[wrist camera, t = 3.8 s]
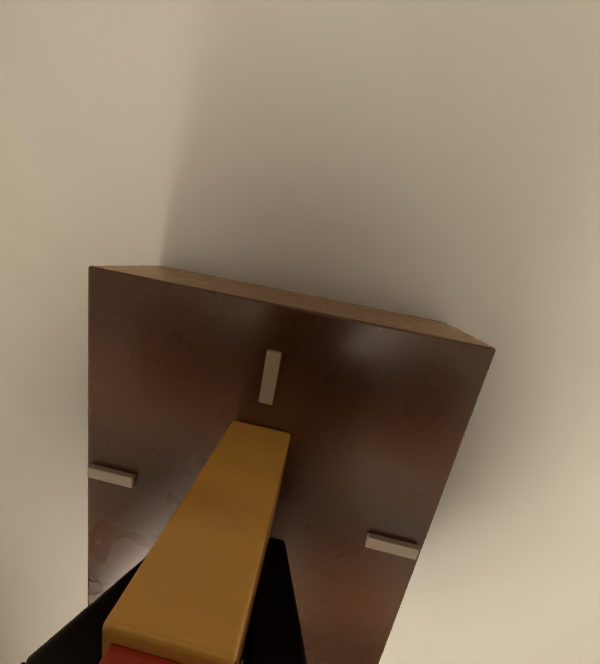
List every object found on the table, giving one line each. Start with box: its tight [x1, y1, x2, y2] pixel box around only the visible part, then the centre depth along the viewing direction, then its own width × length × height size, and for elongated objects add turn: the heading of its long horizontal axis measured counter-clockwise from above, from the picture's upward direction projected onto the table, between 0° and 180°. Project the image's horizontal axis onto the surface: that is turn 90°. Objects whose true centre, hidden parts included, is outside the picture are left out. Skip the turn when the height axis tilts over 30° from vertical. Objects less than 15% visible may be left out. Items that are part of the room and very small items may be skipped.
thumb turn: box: [99, 421, 290, 664], centre depth 6 cm, size 6×2×5 cm, turn 170°
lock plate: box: [88, 266, 495, 664], centre depth 10 cm, size 12×10×3 cm
